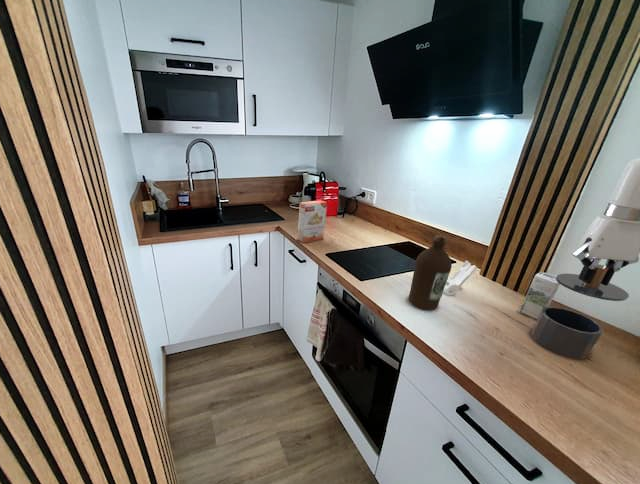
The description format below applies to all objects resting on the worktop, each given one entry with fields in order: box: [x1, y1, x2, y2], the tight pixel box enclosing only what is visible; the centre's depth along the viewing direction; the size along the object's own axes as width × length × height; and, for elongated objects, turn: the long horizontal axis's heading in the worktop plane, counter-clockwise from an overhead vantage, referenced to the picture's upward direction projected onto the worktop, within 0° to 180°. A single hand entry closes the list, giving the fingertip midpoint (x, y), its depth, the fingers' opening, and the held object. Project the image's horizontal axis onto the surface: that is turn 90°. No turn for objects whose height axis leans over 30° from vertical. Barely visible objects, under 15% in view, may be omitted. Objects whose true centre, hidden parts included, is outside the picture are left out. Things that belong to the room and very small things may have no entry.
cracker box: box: [297, 200, 328, 244], centre depth 152 cm, size 14×6×21 cm, turn 120°
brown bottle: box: [408, 234, 452, 311], centre depth 95 cm, size 11×11×25 cm
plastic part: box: [443, 260, 478, 296], centre depth 107 cm, size 8×10×12 cm
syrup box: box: [519, 271, 561, 321], centre depth 93 cm, size 6×6×14 cm
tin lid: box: [556, 263, 630, 302], centre depth 74 cm, size 13×13×7 cm
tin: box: [530, 306, 604, 360], centre depth 81 cm, size 12×12×8 cm
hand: (592, 281), depth 74 cm, fingers closed on tin lid, 3 cm apart
